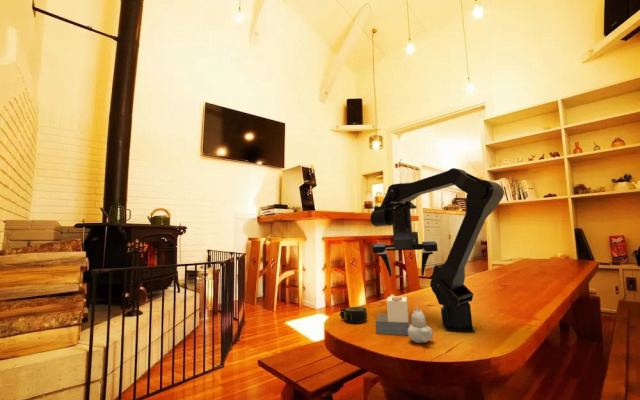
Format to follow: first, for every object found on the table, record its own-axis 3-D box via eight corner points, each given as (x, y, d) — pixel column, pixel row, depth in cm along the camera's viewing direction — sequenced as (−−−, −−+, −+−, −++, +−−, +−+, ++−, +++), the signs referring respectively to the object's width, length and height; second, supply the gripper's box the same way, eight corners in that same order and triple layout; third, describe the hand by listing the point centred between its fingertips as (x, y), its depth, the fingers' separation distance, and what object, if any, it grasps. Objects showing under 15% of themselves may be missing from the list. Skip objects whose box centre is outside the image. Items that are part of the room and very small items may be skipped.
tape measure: (359, 317, 87) (358, 304, 88) (372, 322, 81) (371, 309, 82) (340, 320, 85) (339, 307, 85) (351, 326, 78) (350, 312, 79)
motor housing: (409, 325, 76) (407, 298, 77) (409, 335, 69) (406, 305, 70) (379, 324, 79) (377, 298, 80) (376, 333, 71) (374, 304, 72)
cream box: (389, 315, 76) (388, 294, 77) (408, 316, 75) (406, 295, 75) (388, 321, 71) (386, 299, 71) (408, 322, 69) (406, 299, 70)
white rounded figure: (426, 337, 67) (422, 302, 68) (440, 347, 61) (436, 308, 62) (404, 339, 67) (401, 303, 68) (416, 349, 60) (412, 310, 61)
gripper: (368, 225, 83) (371, 280, 81) (436, 221, 77) (442, 280, 75) (373, 226, 93) (376, 275, 91) (433, 223, 88) (438, 274, 86)
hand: (406, 276), depth 85 cm, fingers open, 9 cm apart
